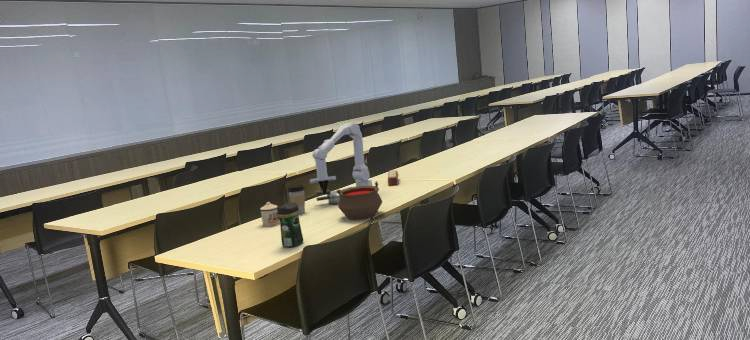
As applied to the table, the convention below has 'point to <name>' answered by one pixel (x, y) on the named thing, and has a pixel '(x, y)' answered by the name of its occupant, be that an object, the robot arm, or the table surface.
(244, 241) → the table surface
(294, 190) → the coffee cup
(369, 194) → the brown cauldron
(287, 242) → the coffee jar
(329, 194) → the lid
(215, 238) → the table surface
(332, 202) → the pot
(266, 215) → the teacup with lid
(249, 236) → the table surface
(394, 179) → the snack package
